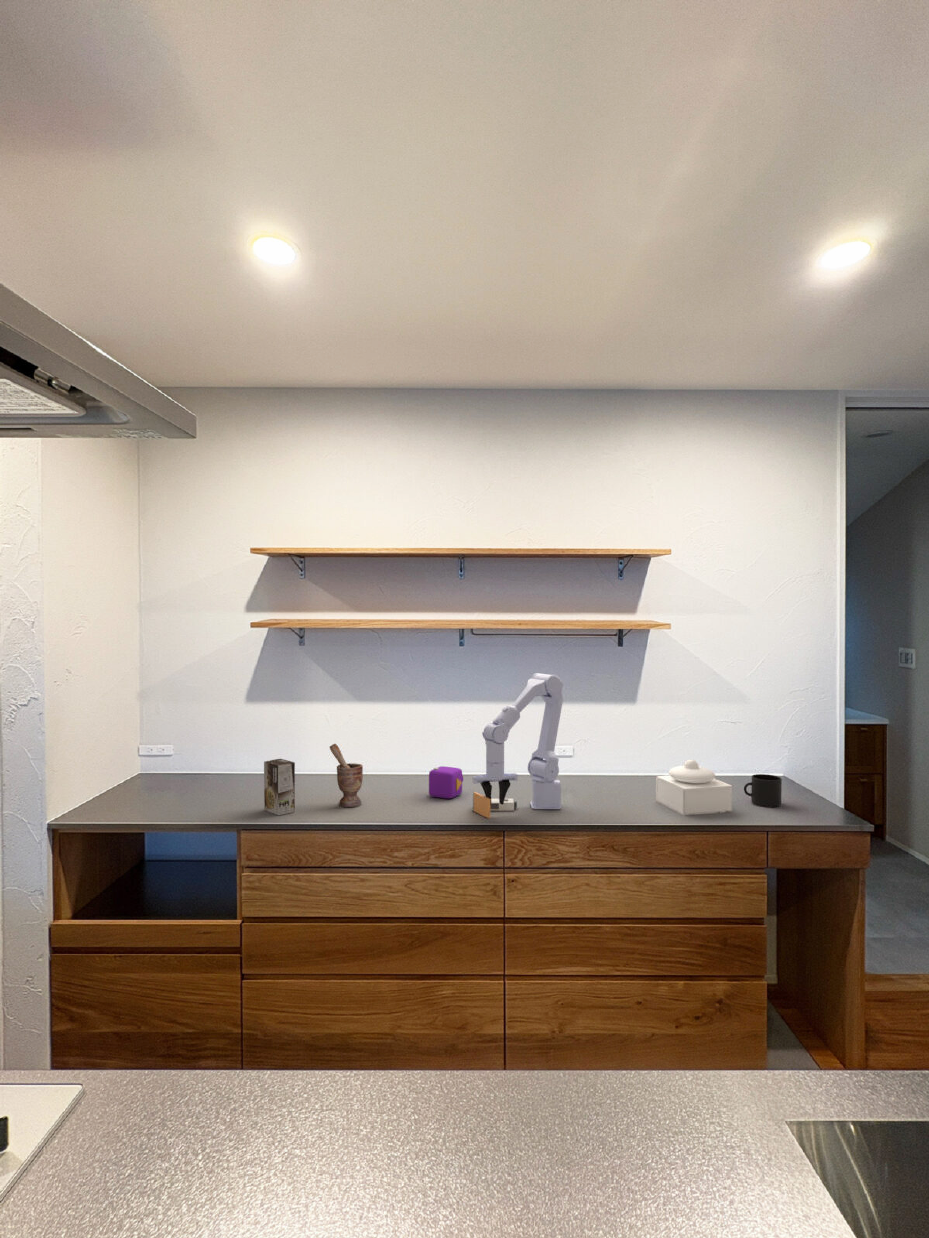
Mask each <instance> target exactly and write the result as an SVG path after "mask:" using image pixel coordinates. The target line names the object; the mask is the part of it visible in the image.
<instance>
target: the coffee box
mask: <svg viewBox="0 0 929 1238" xmlns="http://www.w3.org/2000/svg"><path fill="white" fill-rule="evenodd" d="M295 767H296V763H295V762H294V761H291V760H287V759H283V758H276V759H271V760H266V761H264V762H263V783H264V785H263V788H264V789H263V793H264V794H263V797H264V798H263V799H264V801H263V802H264V811H266V812H269V813H271V814H273V815H276V816H282V815H286V814H287V815H288V814H291V813H296V811H295V810H296V807H295V806H296V805H295V804H296V799H295V798H296V793H295V791H296V790H295V789H296V788H295V786H296V784H295V783H296V777H295V775H296V774H295V773H296V772H295V771H296V770H295V769H296V768H295Z"/></svg>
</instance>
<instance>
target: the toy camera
mask: <svg viewBox="0 0 929 1238" xmlns="http://www.w3.org/2000/svg"><path fill="white" fill-rule="evenodd" d="M463 782H464V776H463V770H462V769H461V768H459V767H451V766H438V767H433V769H431V770H430V771H429V773H428V794H429V796H430V797H432V798H433V797H434V798H439V799H448V800H452V799H453V798H456V797H458V796H459V795H461V794H462V792H463Z"/></svg>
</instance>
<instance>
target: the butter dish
mask: <svg viewBox="0 0 929 1238" xmlns="http://www.w3.org/2000/svg"><path fill="white" fill-rule="evenodd" d="M732 789H733V785H731V784H729V783H726V782H724V781H721V780H719V779H716V774H715V772H714V771H713V770H711V769H708V768H706V767H703V766H699V763H698V762H697V761H696V760H694V759H687V760H686V761H685V762H684V764H683V765H678V766H675V767H672V768H670V769H669V771H668V775H661V776H660V775H657V776H656V778H655V800H656V802H657V803H659V804H661V805H663V806H664V807H667V808H669V809H670V808H671V810H672V811H675V812H676V811H677V813H678V814H680V815H682V814H683V815H682V816H691V815H692V814H694V815H706V814H718V813H717V812H720V813H724V812H723V811H731V812H732ZM689 814H691V815H689Z"/></svg>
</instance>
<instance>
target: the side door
mask: <svg viewBox="0 0 929 1238" xmlns="http://www.w3.org/2000/svg"><path fill="white" fill-rule="evenodd" d="M472 811H473V812H475V813H476V814H479V815H481V816H483V817H485V818H487V819H490V818H491V811H490V798H487V797H486V796H485V795H483V794H480V793H478V792H476V791H473V792H472Z"/></svg>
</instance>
